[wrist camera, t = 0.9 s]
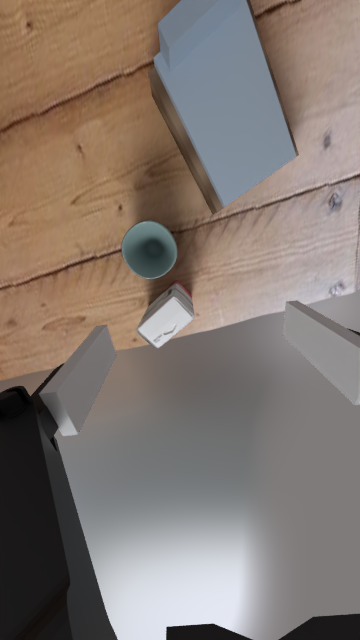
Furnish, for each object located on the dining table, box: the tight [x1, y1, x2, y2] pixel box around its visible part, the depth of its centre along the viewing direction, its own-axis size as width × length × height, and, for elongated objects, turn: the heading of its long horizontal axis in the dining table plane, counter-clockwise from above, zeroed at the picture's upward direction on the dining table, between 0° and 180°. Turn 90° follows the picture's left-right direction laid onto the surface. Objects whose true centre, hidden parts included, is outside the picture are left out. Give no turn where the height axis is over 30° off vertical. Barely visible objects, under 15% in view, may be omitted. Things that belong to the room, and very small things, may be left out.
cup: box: [122, 220, 178, 279], centre depth 32 cm, size 8×8×10 cm
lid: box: [153, 0, 297, 208], centre depth 24 cm, size 18×11×4 cm, turn 33°
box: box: [148, 0, 299, 214], centre depth 28 cm, size 18×13×4 cm
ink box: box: [136, 281, 194, 348], centre depth 35 cm, size 9×5×12 cm, turn 133°
